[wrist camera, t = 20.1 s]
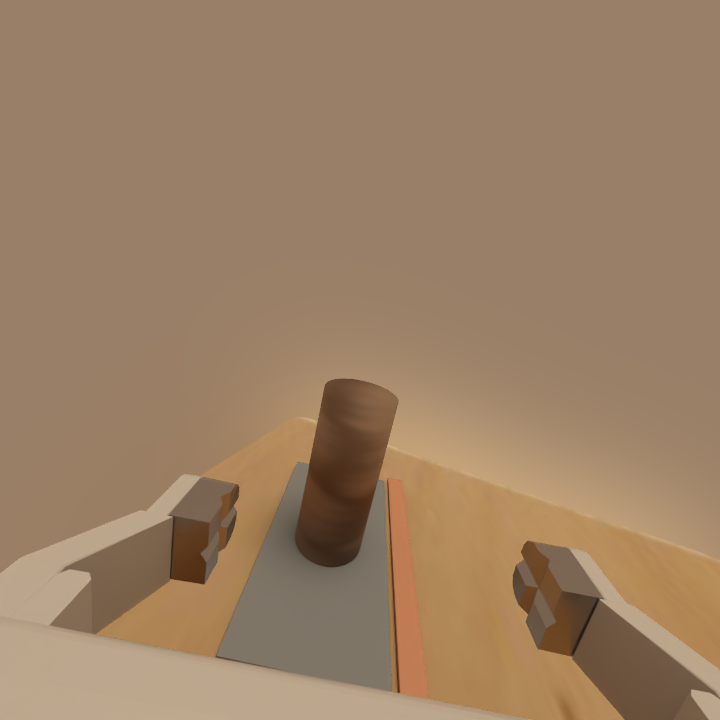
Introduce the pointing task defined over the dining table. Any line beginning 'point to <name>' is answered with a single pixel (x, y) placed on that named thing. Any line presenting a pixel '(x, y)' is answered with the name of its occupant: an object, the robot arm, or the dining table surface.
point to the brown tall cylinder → (344, 470)
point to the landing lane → (332, 603)
